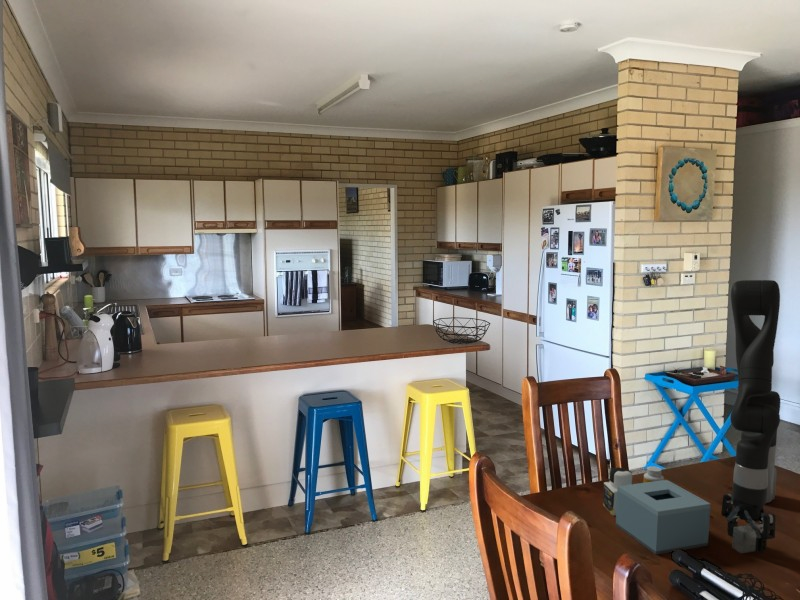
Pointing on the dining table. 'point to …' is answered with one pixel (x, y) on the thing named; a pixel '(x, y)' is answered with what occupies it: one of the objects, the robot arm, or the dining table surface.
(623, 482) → the medicine bottle
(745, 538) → the grey block
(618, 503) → the box
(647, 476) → the supplement bottle
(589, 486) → the dining table surface
